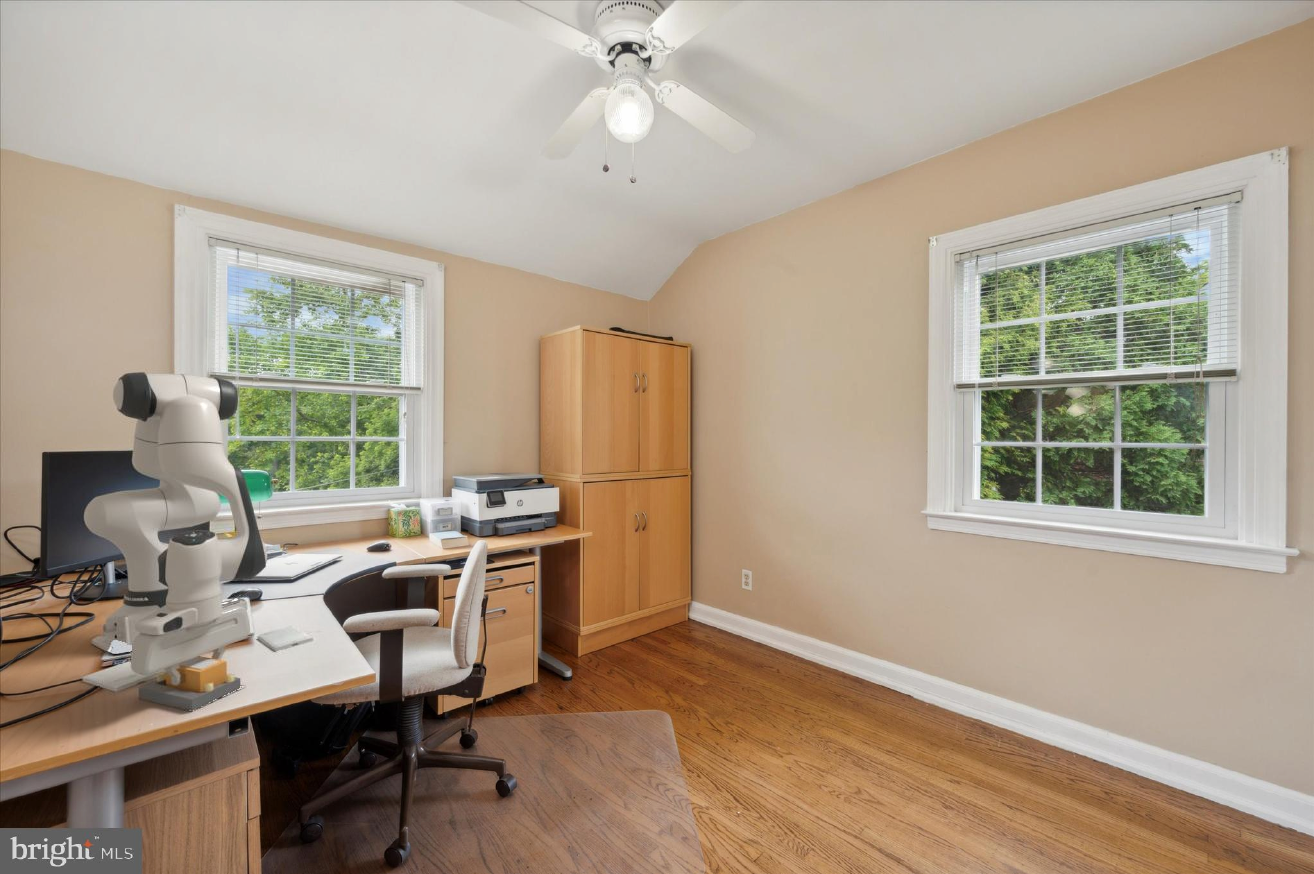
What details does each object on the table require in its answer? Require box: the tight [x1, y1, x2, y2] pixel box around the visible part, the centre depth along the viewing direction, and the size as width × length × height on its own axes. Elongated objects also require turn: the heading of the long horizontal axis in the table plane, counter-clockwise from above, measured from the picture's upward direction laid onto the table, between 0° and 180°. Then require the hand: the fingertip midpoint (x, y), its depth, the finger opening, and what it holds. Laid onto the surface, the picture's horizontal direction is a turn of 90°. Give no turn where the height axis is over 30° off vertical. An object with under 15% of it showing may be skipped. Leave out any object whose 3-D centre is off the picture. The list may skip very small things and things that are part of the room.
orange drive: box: [165, 655, 228, 693], centre depth 111 cm, size 10×5×5 cm, turn 73°
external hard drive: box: [82, 661, 165, 693], centre depth 117 cm, size 2×8×12 cm
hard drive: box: [257, 625, 314, 653], centre depth 137 cm, size 2×8×12 cm
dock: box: [138, 671, 245, 712], centre depth 111 cm, size 16×10×4 cm, turn 73°
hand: (196, 676), depth 111 cm, fingers closed on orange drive, 5 cm apart
